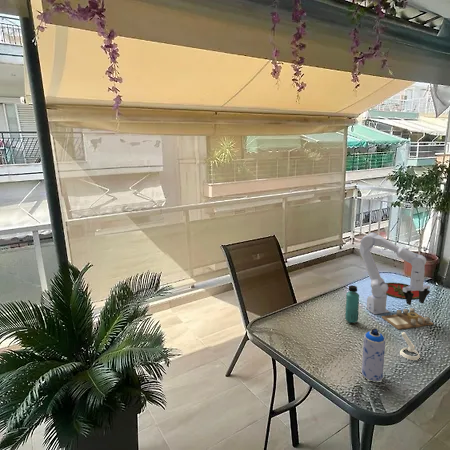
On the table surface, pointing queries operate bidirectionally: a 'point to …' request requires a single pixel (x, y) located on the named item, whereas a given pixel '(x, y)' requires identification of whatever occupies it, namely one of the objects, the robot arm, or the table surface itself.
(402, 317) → the board
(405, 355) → the hook
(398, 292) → the decorative plate
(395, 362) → the table surface
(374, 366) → the aerosol can
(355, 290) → the beverage bottle
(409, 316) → the brass nut
